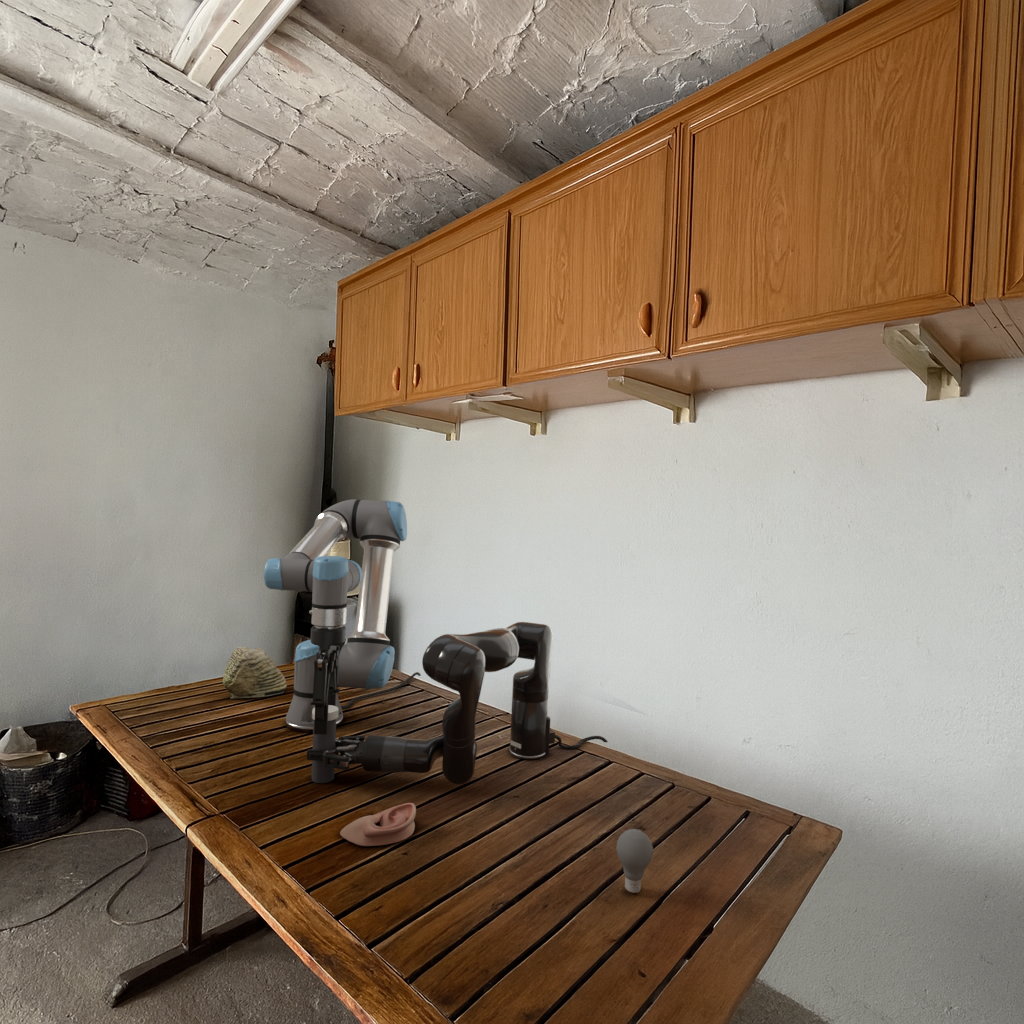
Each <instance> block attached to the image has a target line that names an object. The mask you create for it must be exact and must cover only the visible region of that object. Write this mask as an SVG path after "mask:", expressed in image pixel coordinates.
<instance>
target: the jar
mask: <svg viewBox="0 0 1024 1024" xmlns="http://www.w3.org/2000/svg"><path fill="white" fill-rule="evenodd" d="M314 721H315V720H314ZM336 739H337V727H336V719H334V720H331V721H328V729H327V734H314V726H313V732H312V749H318V750H334V749H335V741H336ZM334 755H335V754H334ZM334 779H335V768H330V767H325V766H324V761H315V760H311V782H313V783H316V784H327V783H330V782H332V781H333V780H334Z"/></svg>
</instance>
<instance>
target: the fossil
mask: <svg viewBox="0 0 1024 1024" xmlns="http://www.w3.org/2000/svg"><path fill="white" fill-rule="evenodd" d="M222 676H223V677H222V685H223V687H224V688H225V690H226V691H228V693H229V698H230V699H250V698H264V697H271V696H275V695H281V694H284V693H285V691H286V689H287V687H288V686H287V680H286V678H285V676H284V674H283V673H282V672H281V669H279V668H278V667H277V665H276V663H275V662H274V660H273V659H272V658H271V657H270V656H269V655H268V654H267V653H266V652H265V650H264V649H263V648H260V647H258V648H251V647H247V646H246V647H245V646H238V647H237V648H236V649H235V650H233V651H232V653H231V656H230V657H229V659H228V660H227V663H226V666H225V668H224V671H223V675H222Z"/></svg>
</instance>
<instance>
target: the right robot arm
mask: <svg viewBox="0 0 1024 1024" xmlns="http://www.w3.org/2000/svg"><path fill="white" fill-rule="evenodd" d="M553 644H554V633H553V630H552V627H551V626H550V625H548V624H545V623H544V624H543V623H538V622H537V623H536V622H528V621H518V622H515V623H512V624H511V625H508V626H506V627H498V628H491V629H487V630H484V631H483V630H482V631H478V632H472V633H466V634H462V633H461V634H459V633H458V634H457V633H445V634H441V635H440V636H438V637H436V638H435V639H433V640H432V641H431V642H430V643H429V644H428V646H427V647H426V649H425V650H424V653H423V655H422V662H421V663H422V669H423V671H424V673H425V674H426V676H428V677H429V678H430V679H431V680H432V681H435V682H437V683H438V684H441V685H443V686H445V687H446V688H447V689H450V690H452V691H456V692H458V694H459V697H457V699H454V700H453V701H452V702H451V703H450V704H449V705H448V706H447V707H446V709H445V711H444V713H443V716H442V720H441V721H442V723H441V725H442V726H441V727H442V736H438V737H432V738H427V739H418V738H406V737H401V736H391V735H376V734H375V735H373V734H370V735H368V736H367V737H366V736H365V735H341V736H338V738H336V741H335V749H334V750H318V749H313V748H309V749H307V751H306V759H307V761H312V760H315V761H324V766H325V767H330V768H334V769H336V770H342V771H349V769H350V765H358V764H361V765H362V769H363V770H364V771H365V772H377V773H392V774H393V773H394V774H397V773H414V774H428V773H430V772H431V770H432V769H433V767H434V764H435V762H436V761H437V760H438V759H440V758H442V762H441V764H442V765H441V769H442V770H441V772H442V774H443V776H444V778H445V779H446V780H447V781H448V782H449V783H451V784H453V785H457V786H458V785H459V786H460V785H464V784H466V783H468V782H469V781H470V780H471V779H472V778H473V776H474V774H475V770H476V759H477V751H478V743H477V741H476V736H477V735H476V733H477V732H476V729H477V728H476V727H477V725H476V717H477V709H478V706H479V702H480V699H481V698H480V697H481V694H482V689H483V683H484V677H485V673H495V672H499V671H502V670H505V669H507V668H509V667H511V666H512V665H513V664H514V663H515V662H516V661H517V659H521V660H522V659H524V660H529V661H534V664H533V667H530V668H527V669H522V670H518V671H517V672H514V674H513V676H512V693H511V695H512V696H511V716H510V735H509V737H510V739H509V750H508V751H509V754H510V755H511V756H513V757H515V758H517V759H522V760H538V759H542V758H543V757H545V756H549V755H550V745H552V744H555V743H556V740H557V741H558V742H557V744H558V746H559V748H560V749H562V750H563V749H564V750H574V749H578V748H580V747H582V744H583V743H586V742H588V741H592V740H599V741H602V742H603V743H608V740H607V739H606V738H605V737H603V736H601V735H591V736H587V737H584V738H582V739H580V740H579V741H578V743H577V744H572V745H564V744H563V741H562V738H561V737H560V736H559V735H558V734H556V732H555V731H554V730H553V729H551V717H550V716H549V715H548V712H549V711H548V709H549V690H550V689H549V687H550V676H551V667H552V666H551V665H552V655H553V646H554V645H553ZM334 754H335V755H334Z"/></svg>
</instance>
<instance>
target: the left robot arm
mask: <svg viewBox="0 0 1024 1024" xmlns="http://www.w3.org/2000/svg"><path fill="white" fill-rule="evenodd" d="M313 523H314V524H313V526H312V528H311V529H310V530H309V531H308V532H306V534H305V535H304V536H303V538H301V540H300V541H299V542H297V543H296V545H295V546H294V547H293V548H292V550H290V551H289V553H288V554H287V555H286V556H285V557H283V558H282V557H274V558H269V559H268V560H267V561H266V563H265V566H264V568H263V582H264V585H265V586H266V588H268V589H270V590H278V591H281V592H283V591H294V592H295V591H296V592H312V594H311V595H312V598H311V599H312V600H311V609H310V610H309V612H308V613H309V615H311V625H313V626H312V627H311V628H310V639H307V640H304V641H302V642H300V643H298V644H297V645H296V648H295V655H294V659H293V662H294V672H293V695H292V696H293V697H292V699H291V702H290V704H289V708H288V711H287V713H286V715H285V726H286V728H287V729H289V730H291V731H294V732H295V731H296V732H301V733H313V726H314V734H327V729H328V705H333V706H336V707H338V711H339V714H338V718H336V728H337V727H339V726H340V725H342V723H343V722H344V714H343V710H344V709H347V708H349V707H350V706H351V705H352V703H354V702H356V701H358V700H362V699H365V698H370V697H374V696H378V695H382V694H384V693H385V694H386V693H389V692H392V691H395V690H397V689H400V688H402V687H403V686H405V685H407V683H408V682H410V680H412V679H413V678H414V677H416V676H419V677H420V676H421V673H420V672H419V671H418V672H417V671H416V672H414V673H413V674H411V675H410V676H409V677H408V678H407V679H406V680H405V681H404V682H402V683H400V684H398V685H396V686H393V687H390V688H388V689H384V690H380V689H383V688H384V687H385V686H386V685H387V684H388V682H389V680H390V677H391V675H392V671H393V668H394V663H395V652H396V650H395V647H394V646H392V645H391V644H390V642H391V640H390V638H389V637H388V636H387V635H386V629H387V620H388V611H389V610H388V609H389V601H390V592H391V584H392V583H391V582H392V573H393V572H392V571H393V564H394V555H395V552H396V551H397V550H398V549H400V547H401V542H404V541H406V540H407V536H408V521H407V514H406V509H405V506H404V505H403V504H402V502H400V501H393V500H388V499H386V500H374V499H358V498H357V499H356V498H355V499H353V498H351V499H347V500H346V499H345V500H343V501H340V502H337V503H335V504H333V505H331V506H329V507H327V508H325V509H324V510H323V511H322V512H321V513H319V515H318V516H316V519H315V520H314V522H313ZM344 539H359V545H360V546H361V547H362V549H363V556H362V563H361V565H360V564H359V563H358V562H356V561H354V560H351V559H348V558H347V557H345V556H341V555H338V556H337V555H328V553H329V552H330V551H331V550H332V549H333V547H334V546H335V545H336V543H337V544H338V543H340V542H341V541H343V540H344ZM358 586H359V588H358V589H359V591H358V597H357V607H356V612H355V613H356V614H355V622H354V631H353V632H352V633H351V634H350V635H349V636H347V637H346V635H347V634H346V633H347V627H346V626H345V625H346V624H347V618H348V617H347V613H348V612H347V611H348V610H347V609H348V606H347V605H348V603H347V602H348V593H350V592H353V591H354V590H356V589H357V587H358ZM346 638H347V643H345V642H346ZM341 688H346V689H347V688H348V689H364V690H365V689H366V690H371V689H373V690H374V689H375V690H377V689H379V690H380V691H376V692H372V693H368V694H363V695H360V696H356V697H354V698H351V700H349V702H348V703H346V704H345V705H341V702H340V699H339V695H338V694H339V693H340V691H341ZM313 708H315V721H314V720H313V719H312V710H313Z"/></svg>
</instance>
